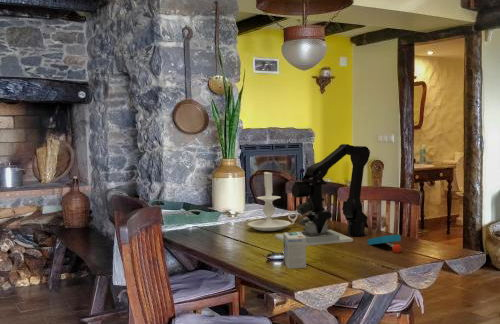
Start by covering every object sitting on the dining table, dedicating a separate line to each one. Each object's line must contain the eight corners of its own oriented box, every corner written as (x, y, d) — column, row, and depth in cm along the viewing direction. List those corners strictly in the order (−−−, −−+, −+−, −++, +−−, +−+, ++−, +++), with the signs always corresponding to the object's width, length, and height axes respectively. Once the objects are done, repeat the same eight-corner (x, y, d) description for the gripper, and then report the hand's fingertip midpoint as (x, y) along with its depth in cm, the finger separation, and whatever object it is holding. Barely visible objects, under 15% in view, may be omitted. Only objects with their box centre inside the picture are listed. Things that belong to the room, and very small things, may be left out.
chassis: (330, 232, 252) (330, 225, 252) (353, 241, 231) (353, 233, 230) (274, 237, 244) (274, 230, 244) (293, 247, 223) (292, 239, 223)
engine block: (322, 232, 237) (322, 218, 237) (327, 234, 232) (327, 220, 232) (305, 234, 235) (305, 220, 234) (310, 236, 230) (309, 222, 229)
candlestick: (304, 232, 254) (303, 171, 252) (252, 235, 250) (250, 174, 248) (293, 224, 274) (291, 168, 272) (244, 227, 270) (242, 170, 268)
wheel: (309, 222, 248) (308, 216, 248) (314, 224, 242) (313, 218, 242) (297, 223, 246) (297, 217, 246) (302, 225, 241) (302, 219, 241)
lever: (369, 256, 224) (391, 253, 207) (367, 239, 225) (389, 235, 208) (384, 255, 226) (408, 252, 209) (382, 237, 227) (405, 233, 210)
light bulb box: (283, 261, 200) (282, 232, 200) (301, 260, 201) (300, 231, 200) (287, 269, 190) (287, 238, 189) (307, 268, 190) (306, 237, 190)
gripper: (289, 194, 239) (290, 230, 240) (306, 199, 221) (307, 238, 222) (313, 192, 242) (314, 227, 243) (331, 197, 224) (332, 235, 225)
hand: (316, 232), depth 233 cm, fingers closed on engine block, 5 cm apart
